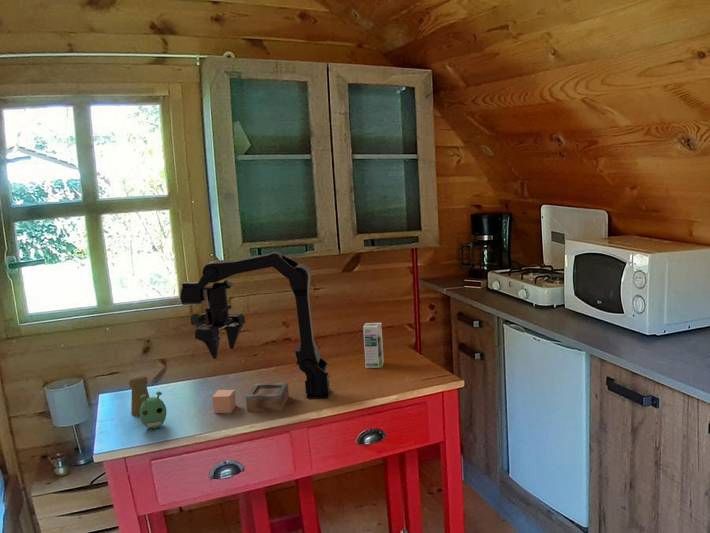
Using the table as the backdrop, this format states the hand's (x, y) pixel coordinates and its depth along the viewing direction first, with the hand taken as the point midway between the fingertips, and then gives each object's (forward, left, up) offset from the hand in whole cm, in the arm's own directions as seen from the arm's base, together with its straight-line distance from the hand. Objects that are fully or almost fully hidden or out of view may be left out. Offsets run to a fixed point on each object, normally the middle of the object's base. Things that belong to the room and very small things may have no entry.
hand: (223, 353), depth 180 cm
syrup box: (-43, -26, -14) cm, 52 cm away
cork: (+23, +10, -14) cm, 29 cm away
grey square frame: (-14, +5, -15) cm, 21 cm away
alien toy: (+14, +21, -14) cm, 29 cm away
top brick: (-2, +9, -14) cm, 17 cm away
